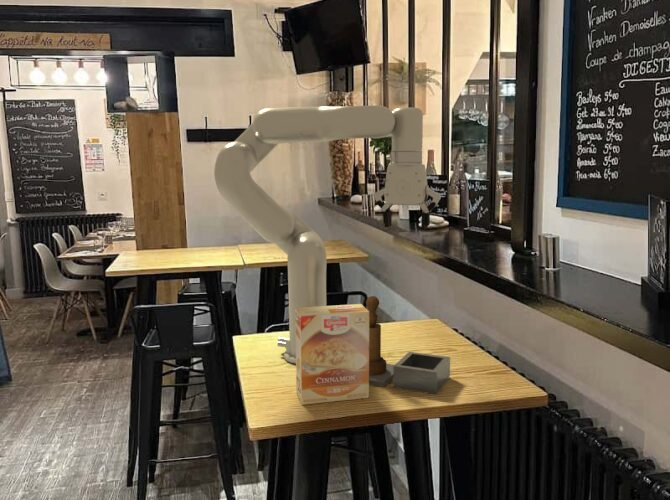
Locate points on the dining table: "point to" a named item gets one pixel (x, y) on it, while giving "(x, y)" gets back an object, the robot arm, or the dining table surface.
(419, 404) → the dining table surface
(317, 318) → the coffeecake box
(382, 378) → the coaster
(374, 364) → the wooden pepper mill
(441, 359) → the open square box
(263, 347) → the dining table surface
